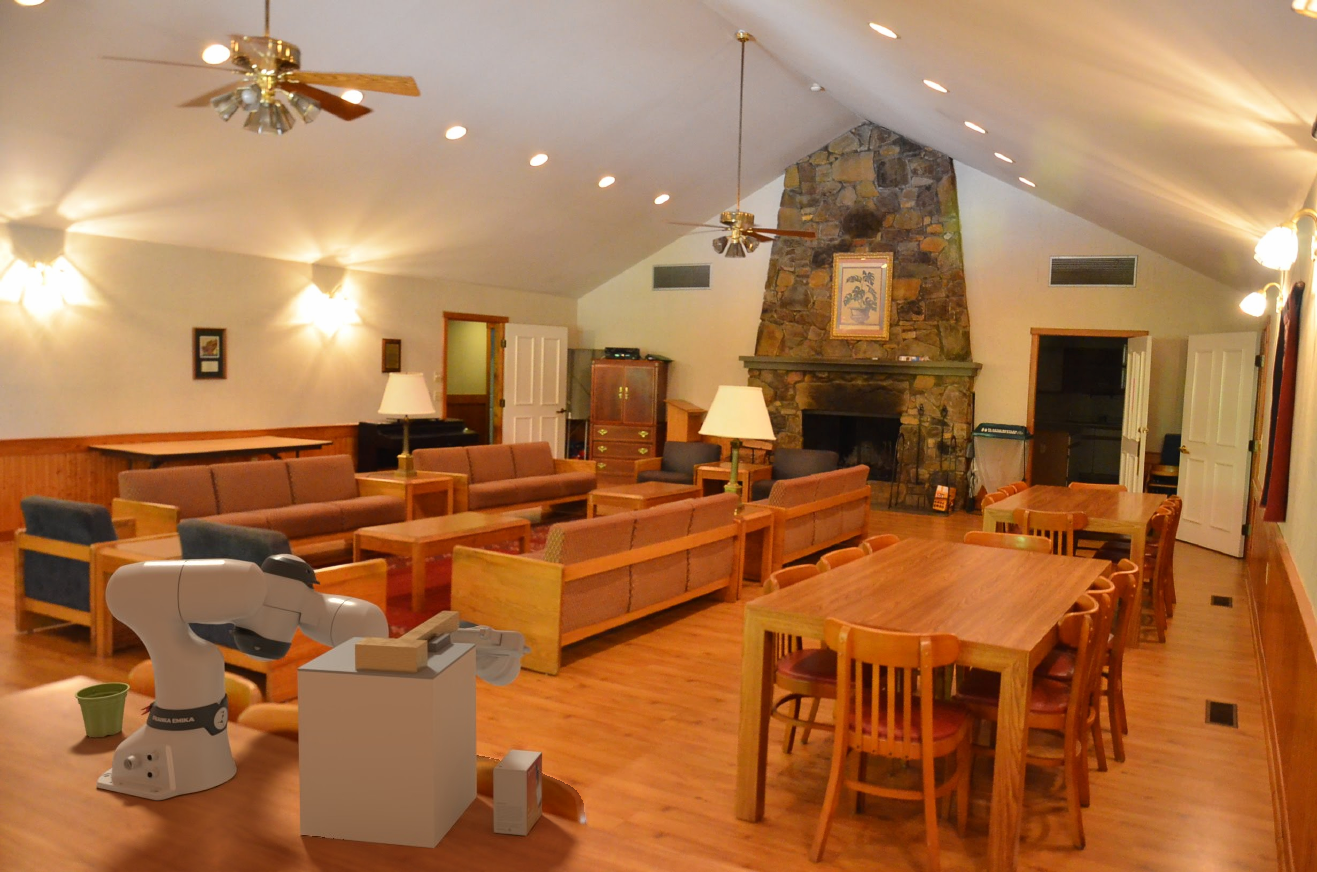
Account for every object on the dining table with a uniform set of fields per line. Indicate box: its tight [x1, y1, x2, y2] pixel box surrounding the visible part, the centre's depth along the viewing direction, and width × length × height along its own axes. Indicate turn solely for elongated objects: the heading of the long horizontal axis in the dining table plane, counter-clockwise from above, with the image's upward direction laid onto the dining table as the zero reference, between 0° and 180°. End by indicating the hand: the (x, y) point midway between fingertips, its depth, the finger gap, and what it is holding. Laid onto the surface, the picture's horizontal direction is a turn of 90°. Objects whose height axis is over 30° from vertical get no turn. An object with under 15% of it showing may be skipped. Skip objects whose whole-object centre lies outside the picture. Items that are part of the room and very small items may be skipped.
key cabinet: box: [296, 633, 478, 849], centre depth 154 cm, size 22×18×28 cm
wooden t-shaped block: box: [355, 610, 460, 674], centre depth 158 cm, size 10×26×4 cm, turn 170°
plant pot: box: [74, 682, 131, 738], centre depth 190 cm, size 9×9×9 cm
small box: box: [492, 749, 543, 836], centre depth 152 cm, size 8×6×10 cm
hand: (458, 630), depth 173 cm, fingers open, 8 cm apart
